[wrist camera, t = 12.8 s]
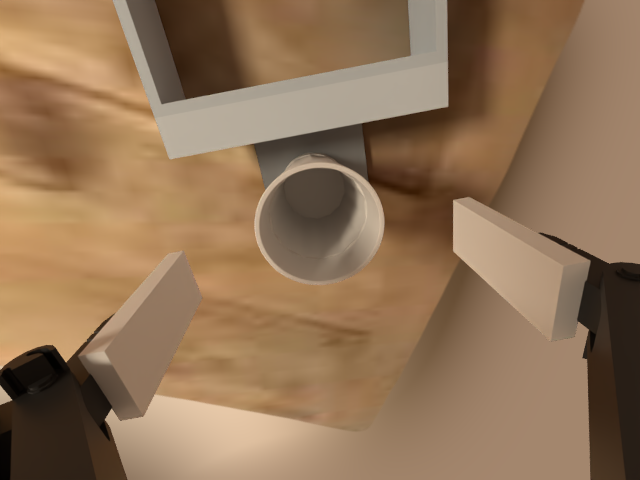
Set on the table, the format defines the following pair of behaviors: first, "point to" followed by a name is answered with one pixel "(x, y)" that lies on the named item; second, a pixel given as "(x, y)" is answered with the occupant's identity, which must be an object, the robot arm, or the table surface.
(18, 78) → the table surface
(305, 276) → the cup
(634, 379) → the robot arm
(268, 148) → the pad
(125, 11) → the rectangular frame
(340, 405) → the table surface
